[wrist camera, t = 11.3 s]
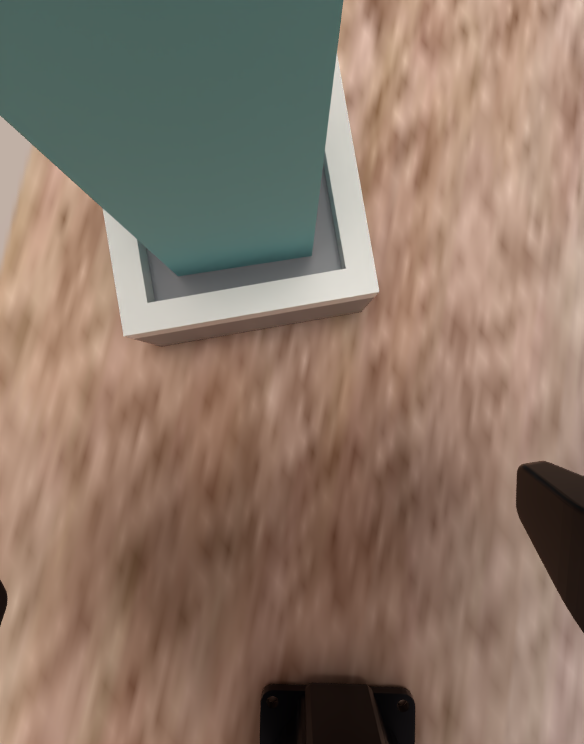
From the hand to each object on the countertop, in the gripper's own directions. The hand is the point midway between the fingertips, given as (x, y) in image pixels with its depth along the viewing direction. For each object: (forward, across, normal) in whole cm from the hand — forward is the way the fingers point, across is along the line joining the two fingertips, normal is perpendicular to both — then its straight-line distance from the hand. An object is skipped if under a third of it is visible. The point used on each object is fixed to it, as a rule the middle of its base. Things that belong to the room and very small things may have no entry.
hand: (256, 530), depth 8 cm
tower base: (+15, 0, -4) cm, 16 cm away
